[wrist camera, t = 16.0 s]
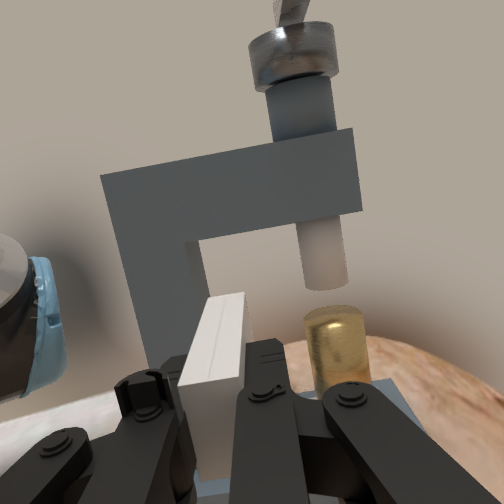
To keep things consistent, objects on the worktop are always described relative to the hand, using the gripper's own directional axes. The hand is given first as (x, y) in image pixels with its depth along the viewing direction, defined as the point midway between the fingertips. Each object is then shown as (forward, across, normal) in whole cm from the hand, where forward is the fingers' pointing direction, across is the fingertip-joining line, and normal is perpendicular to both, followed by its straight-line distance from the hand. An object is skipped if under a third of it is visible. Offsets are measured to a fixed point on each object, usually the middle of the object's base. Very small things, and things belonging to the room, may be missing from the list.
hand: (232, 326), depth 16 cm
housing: (+17, +6, -18) cm, 25 cm away
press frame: (+17, +1, -21) cm, 27 cm away
